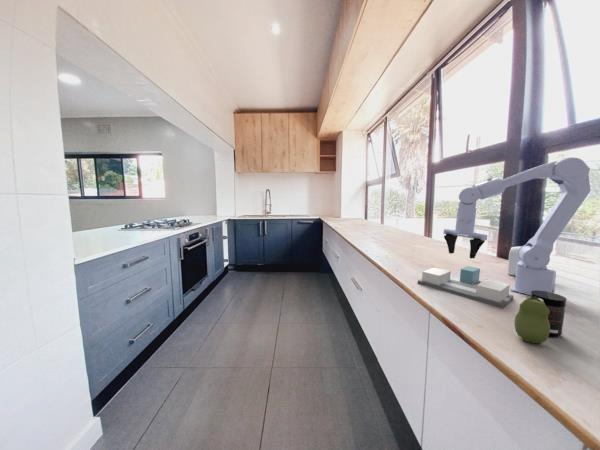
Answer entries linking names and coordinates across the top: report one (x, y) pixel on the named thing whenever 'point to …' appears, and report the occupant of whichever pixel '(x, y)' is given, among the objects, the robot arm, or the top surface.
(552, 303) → the supplement container
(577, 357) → the top surface
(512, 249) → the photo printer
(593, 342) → the top surface
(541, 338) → the pear
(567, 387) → the top surface
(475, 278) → the module block
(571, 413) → the top surface
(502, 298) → the rail plate
